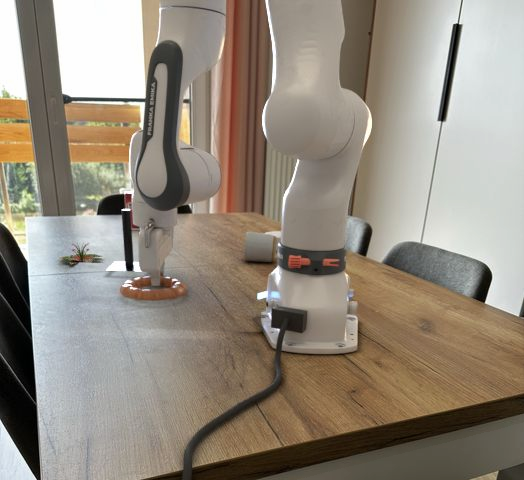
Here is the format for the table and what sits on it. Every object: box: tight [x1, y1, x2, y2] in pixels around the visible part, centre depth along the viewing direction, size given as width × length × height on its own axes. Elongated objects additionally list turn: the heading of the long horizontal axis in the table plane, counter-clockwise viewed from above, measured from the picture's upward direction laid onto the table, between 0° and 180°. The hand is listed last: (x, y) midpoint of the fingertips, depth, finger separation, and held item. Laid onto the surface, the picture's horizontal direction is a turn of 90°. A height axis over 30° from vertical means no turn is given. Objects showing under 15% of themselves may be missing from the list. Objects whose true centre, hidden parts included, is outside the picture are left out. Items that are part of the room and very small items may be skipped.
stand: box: [105, 208, 143, 273], centre depth 119 cm, size 9×9×14 cm
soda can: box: [123, 190, 140, 231], centre depth 173 cm, size 7×7×12 cm
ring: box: [119, 275, 188, 301], centre depth 104 cm, size 13×13×3 cm
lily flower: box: [59, 242, 105, 266], centre depth 129 cm, size 12×12×5 cm
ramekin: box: [264, 230, 281, 252], centre depth 153 cm, size 9×9×4 cm
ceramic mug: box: [243, 231, 277, 263], centre depth 137 cm, size 11×8×8 cm
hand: (158, 282), depth 109 cm, fingers closed on ring, 3 cm apart
